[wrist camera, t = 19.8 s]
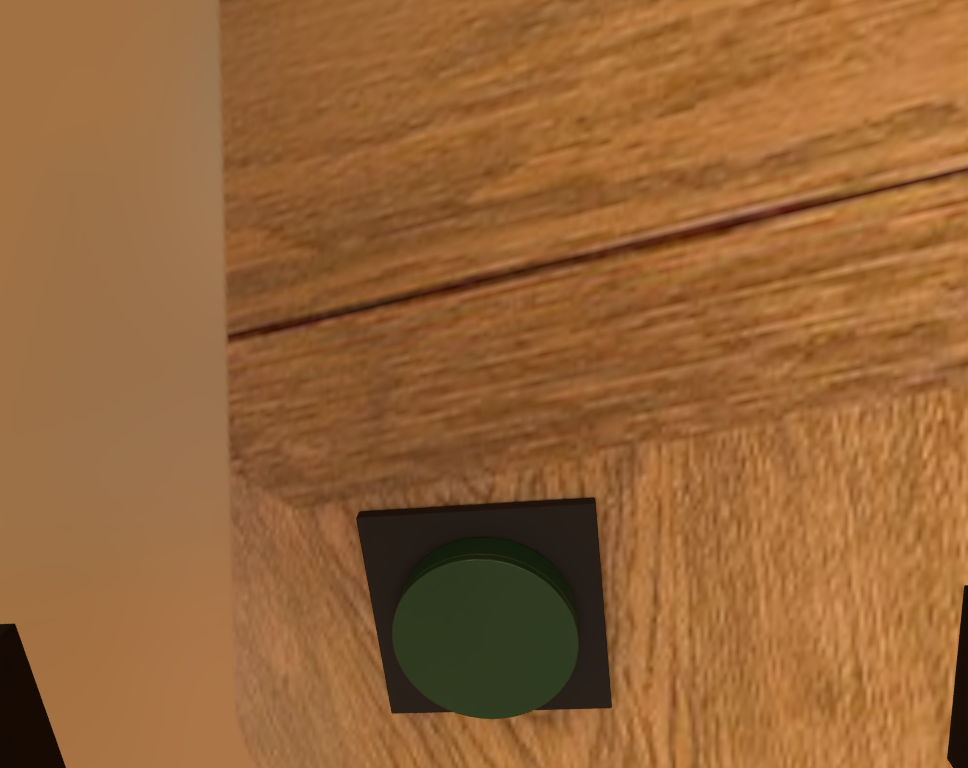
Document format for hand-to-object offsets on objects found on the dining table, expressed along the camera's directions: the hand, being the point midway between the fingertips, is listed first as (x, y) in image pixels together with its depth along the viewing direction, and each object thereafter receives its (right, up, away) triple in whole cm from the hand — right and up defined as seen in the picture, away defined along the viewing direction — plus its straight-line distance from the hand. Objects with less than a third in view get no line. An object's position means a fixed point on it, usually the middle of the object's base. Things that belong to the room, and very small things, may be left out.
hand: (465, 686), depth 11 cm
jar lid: (0, -6, +20) cm, 21 cm away
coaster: (0, -6, +22) cm, 23 cm away
